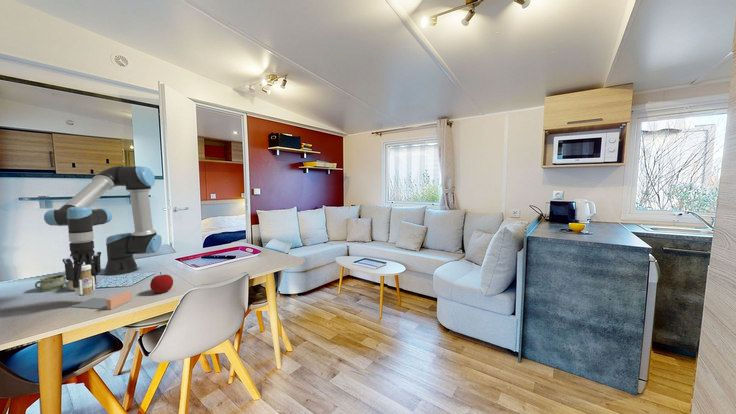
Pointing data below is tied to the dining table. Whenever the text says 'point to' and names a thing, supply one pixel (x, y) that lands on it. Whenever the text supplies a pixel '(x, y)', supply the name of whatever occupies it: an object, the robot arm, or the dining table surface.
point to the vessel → (51, 283)
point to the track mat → (105, 302)
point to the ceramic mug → (70, 285)
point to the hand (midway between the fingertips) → (85, 291)
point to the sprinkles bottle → (86, 279)
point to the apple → (161, 283)
